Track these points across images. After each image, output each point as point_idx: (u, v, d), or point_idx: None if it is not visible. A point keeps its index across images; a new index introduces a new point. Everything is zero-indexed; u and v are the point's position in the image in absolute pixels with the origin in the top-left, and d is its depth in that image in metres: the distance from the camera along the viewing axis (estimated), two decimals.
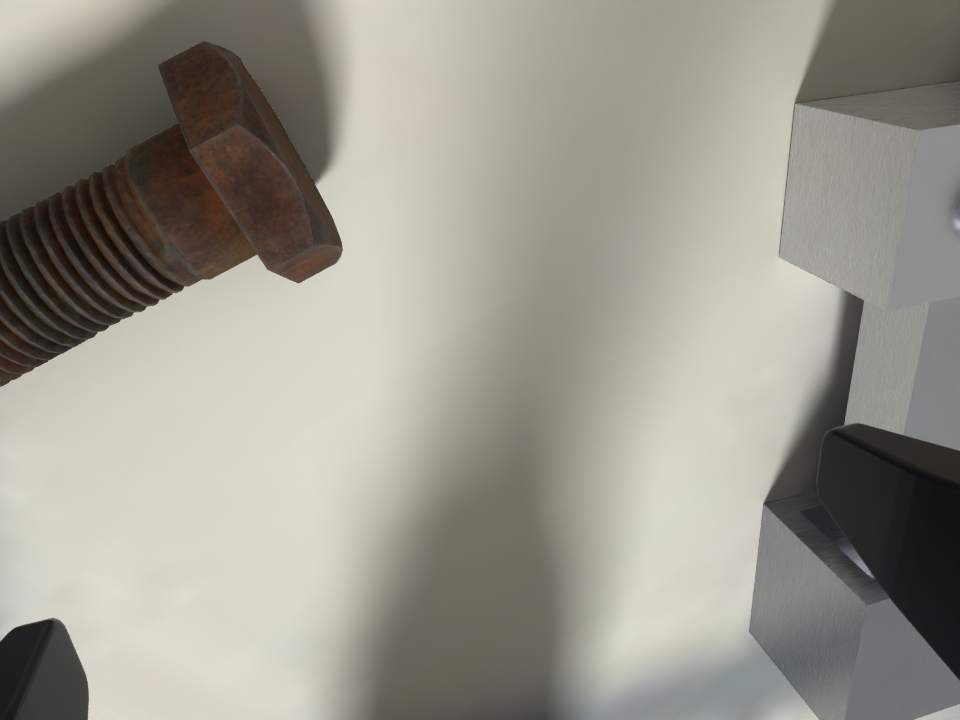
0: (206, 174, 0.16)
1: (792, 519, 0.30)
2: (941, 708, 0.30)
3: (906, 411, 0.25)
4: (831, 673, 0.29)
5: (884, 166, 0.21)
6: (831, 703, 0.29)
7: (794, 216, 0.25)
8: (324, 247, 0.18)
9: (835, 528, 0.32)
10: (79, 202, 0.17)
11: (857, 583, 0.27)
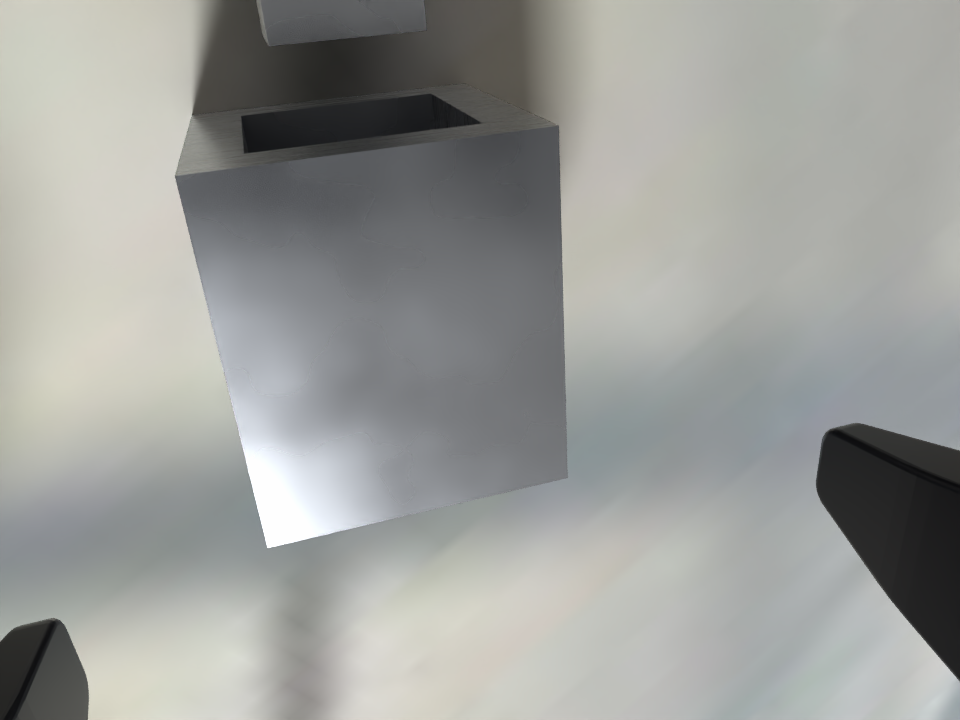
0: None
1: (212, 121, 0.16)
2: (504, 490, 0.16)
3: None
4: None
5: None
6: None
7: None
8: None
9: None
10: None
11: (208, 162, 0.12)
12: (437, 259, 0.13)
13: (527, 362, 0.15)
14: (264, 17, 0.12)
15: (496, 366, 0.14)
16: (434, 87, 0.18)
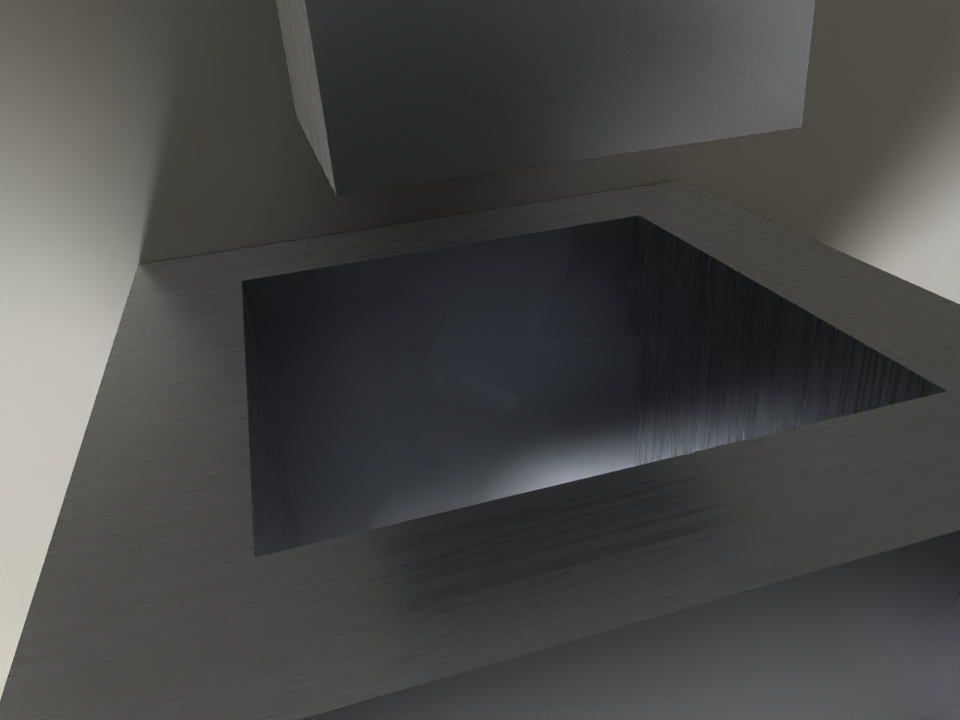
0: None
1: (176, 304, 0.07)
2: None
3: None
4: None
5: None
6: None
7: None
8: None
9: (453, 378, 0.08)
10: None
11: (135, 597, 0.04)
12: None
13: None
14: (324, 104, 0.04)
15: None
16: (627, 192, 0.09)
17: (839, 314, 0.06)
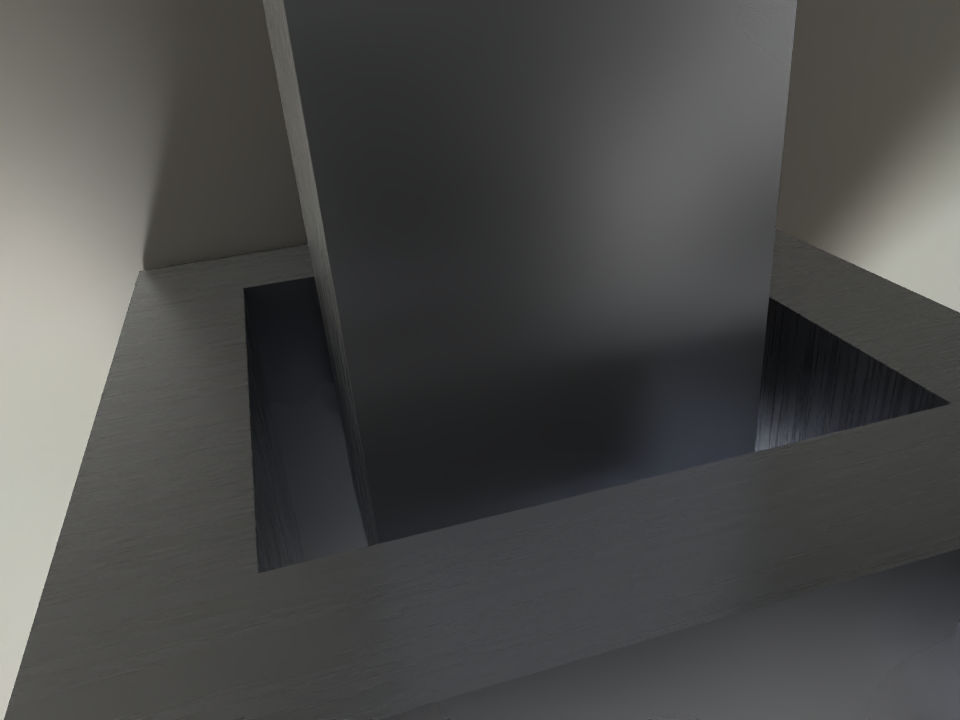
0: None
1: (178, 312, 0.07)
2: None
3: None
4: None
5: None
6: None
7: None
8: None
9: None
10: None
11: (137, 613, 0.04)
12: None
13: None
14: None
15: None
16: None
17: (843, 324, 0.06)
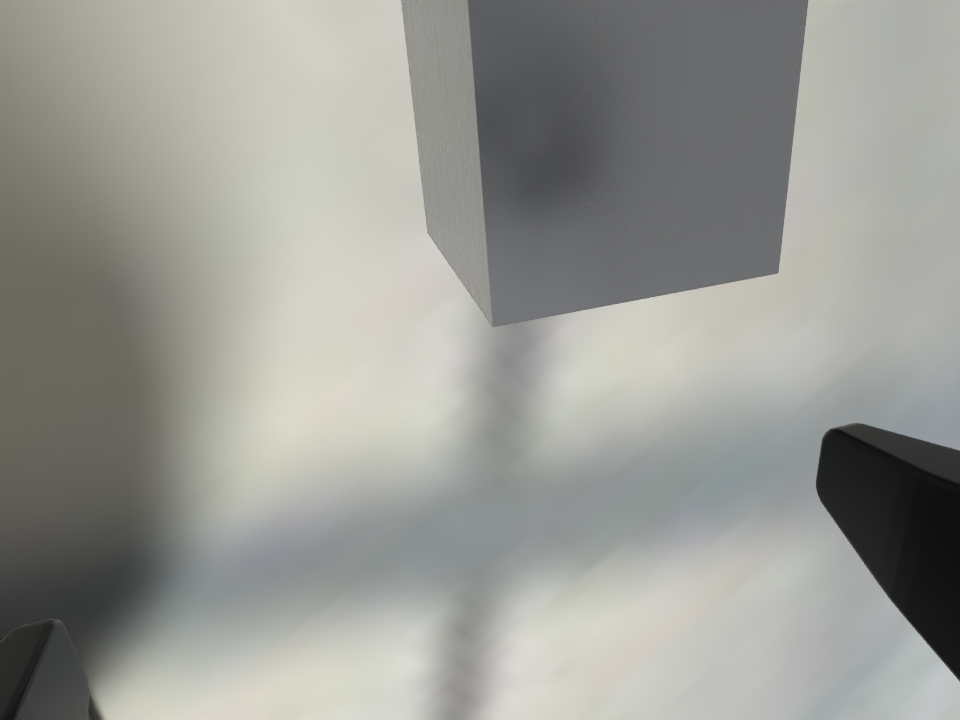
0: None
1: None
2: (717, 283, 0.16)
3: None
4: (467, 171, 0.14)
5: None
6: (476, 243, 0.15)
7: None
8: None
9: None
10: None
11: None
12: (690, 10, 0.13)
13: (758, 137, 0.14)
14: None
15: (729, 139, 0.14)
16: None
17: None
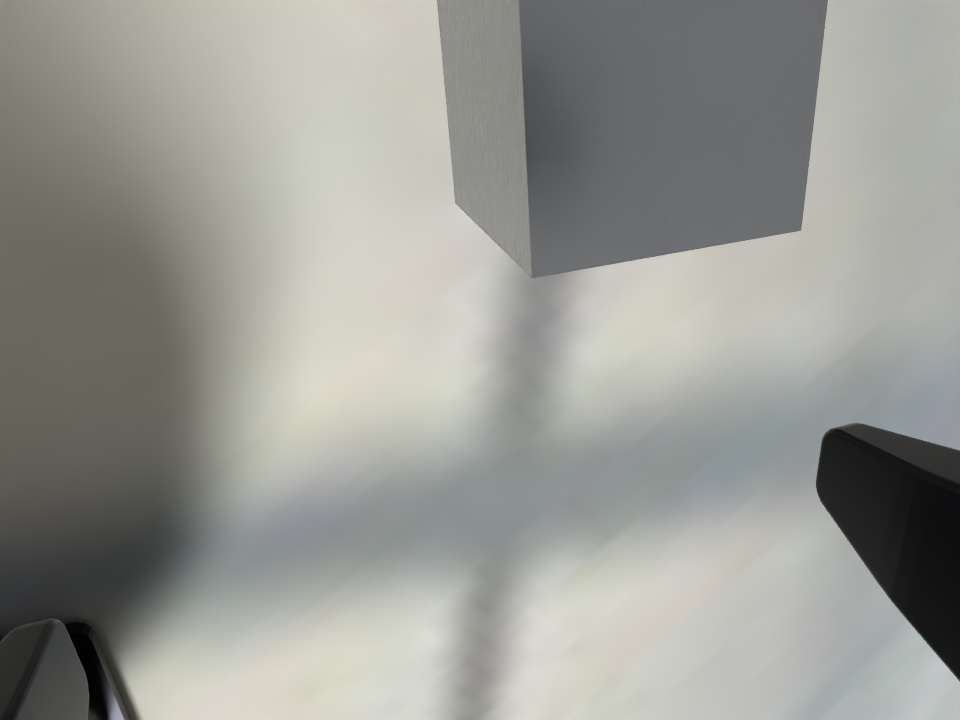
0: None
1: None
2: (743, 239, 0.16)
3: None
4: (508, 127, 0.15)
5: None
6: (516, 198, 0.15)
7: None
8: None
9: None
10: None
11: None
12: None
13: (784, 95, 0.15)
14: None
15: (757, 97, 0.15)
16: None
17: None
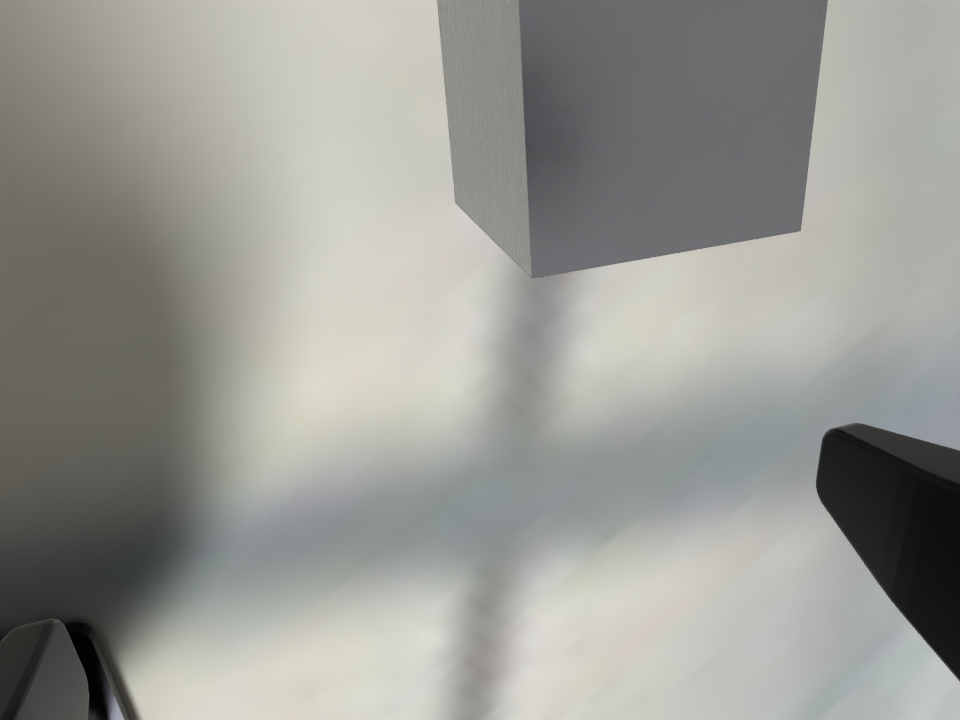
0: None
1: None
2: (743, 240, 0.16)
3: None
4: (507, 128, 0.15)
5: None
6: (516, 198, 0.15)
7: None
8: None
9: None
10: None
11: None
12: None
13: (784, 96, 0.15)
14: None
15: (756, 97, 0.15)
16: None
17: None
